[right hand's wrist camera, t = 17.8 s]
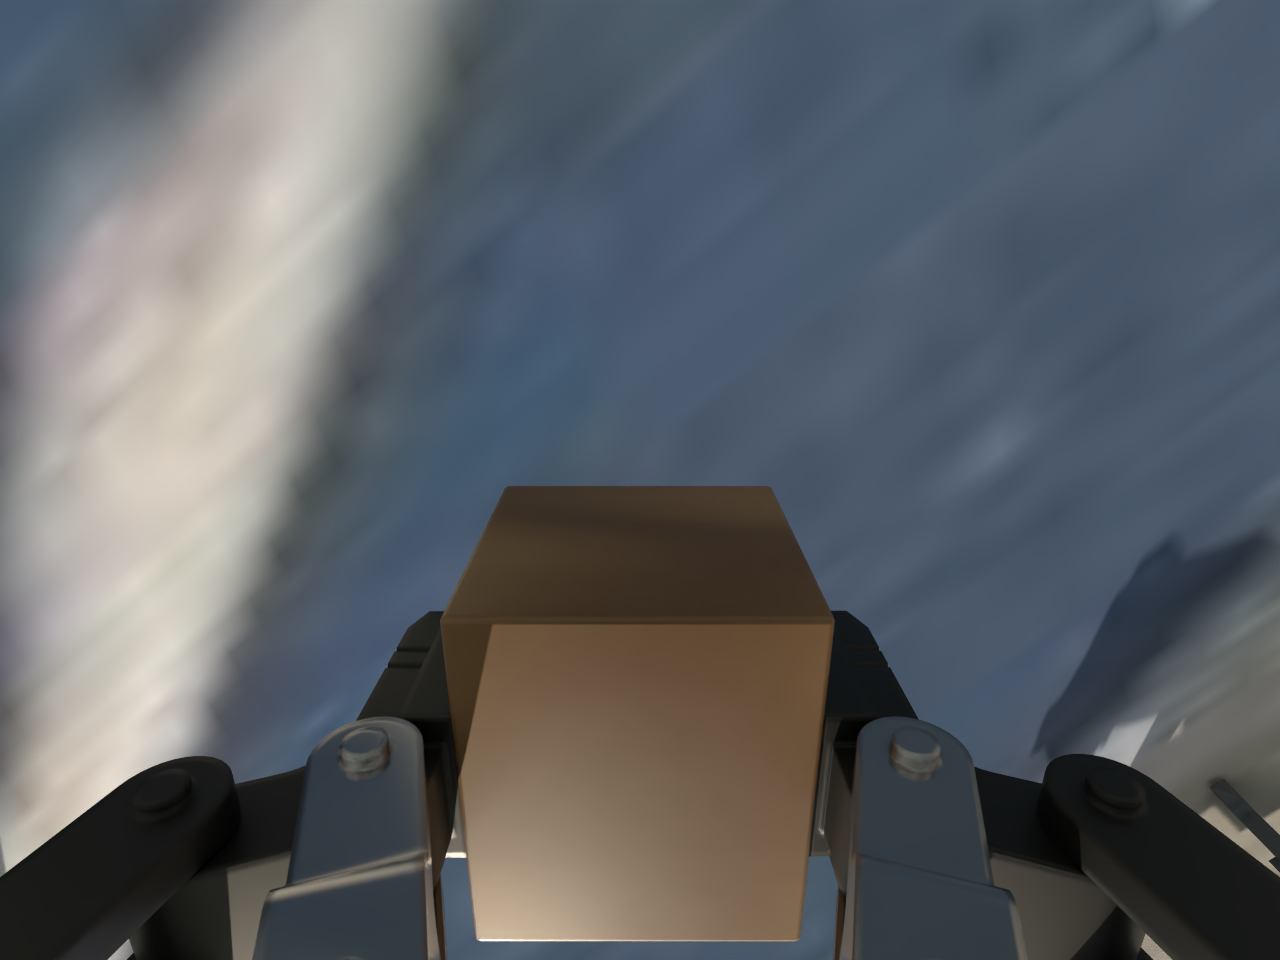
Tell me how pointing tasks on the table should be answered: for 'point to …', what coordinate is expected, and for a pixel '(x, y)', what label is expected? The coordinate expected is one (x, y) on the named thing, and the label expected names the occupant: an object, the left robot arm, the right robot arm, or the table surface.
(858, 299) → the table surface
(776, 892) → the brick
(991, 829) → the right robot arm
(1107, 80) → the table surface
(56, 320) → the table surface
